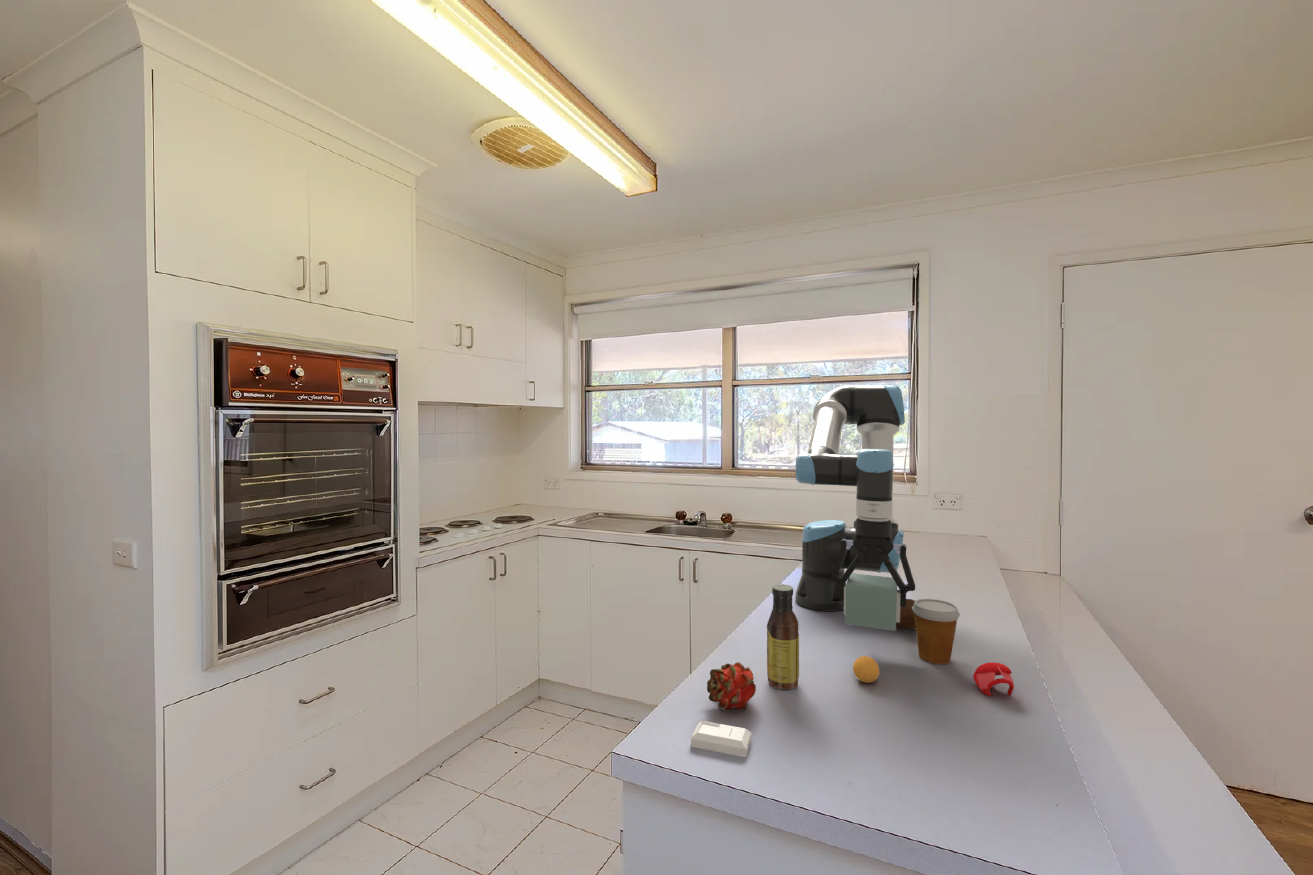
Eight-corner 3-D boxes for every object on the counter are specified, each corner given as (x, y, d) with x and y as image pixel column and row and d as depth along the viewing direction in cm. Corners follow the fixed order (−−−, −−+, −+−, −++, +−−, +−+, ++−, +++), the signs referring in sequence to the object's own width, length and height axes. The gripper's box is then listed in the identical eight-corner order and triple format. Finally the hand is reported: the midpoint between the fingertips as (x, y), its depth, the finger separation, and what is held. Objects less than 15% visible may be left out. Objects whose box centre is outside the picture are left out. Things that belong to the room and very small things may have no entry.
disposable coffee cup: (964, 669, 121) (966, 614, 121) (916, 665, 123) (917, 610, 123) (951, 651, 131) (952, 599, 130) (906, 647, 133) (907, 596, 132)
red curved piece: (1028, 685, 108) (1013, 657, 113) (1002, 677, 107) (987, 649, 112) (999, 707, 112) (985, 679, 117) (973, 699, 111) (961, 671, 116)
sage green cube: (849, 609, 135) (850, 572, 135) (896, 616, 131) (897, 578, 131) (845, 623, 126) (845, 584, 126) (895, 631, 122) (896, 590, 121)
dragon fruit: (709, 727, 102) (741, 709, 111) (746, 710, 98) (776, 693, 107) (689, 679, 105) (722, 666, 115) (724, 661, 101) (755, 649, 111)
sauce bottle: (778, 674, 119) (779, 579, 118) (805, 684, 115) (806, 586, 114) (759, 684, 114) (761, 586, 114) (786, 695, 110) (788, 593, 109)
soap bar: (745, 760, 90) (746, 743, 90) (690, 749, 93) (690, 733, 93) (751, 743, 95) (751, 727, 95) (698, 733, 98) (698, 717, 98)
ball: (854, 673, 119) (854, 650, 119) (879, 678, 117) (880, 654, 117) (851, 684, 115) (852, 659, 114) (878, 689, 113) (878, 664, 112)
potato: (924, 627, 145) (925, 596, 145) (918, 640, 137) (919, 607, 137) (893, 621, 149) (894, 591, 149) (886, 634, 141) (886, 602, 141)
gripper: (818, 516, 129) (816, 614, 130) (930, 525, 120) (928, 630, 120) (823, 512, 136) (821, 604, 137) (929, 519, 127) (927, 619, 127)
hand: (871, 616), depth 129 cm, fingers closed on sage green cube, 10 cm apart
